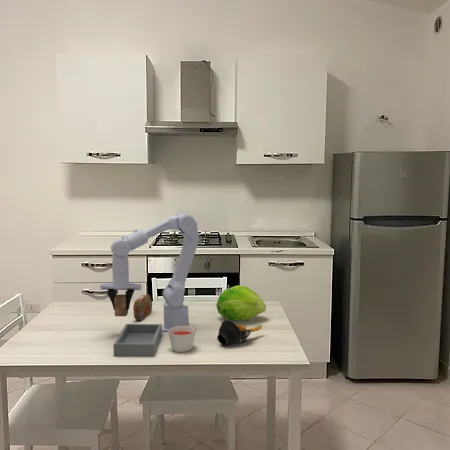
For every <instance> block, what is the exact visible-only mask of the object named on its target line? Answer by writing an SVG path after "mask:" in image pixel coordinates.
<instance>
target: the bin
mask: <svg viewBox="0 0 450 450" xmlns="http://www.w3.org/2000/svg"><path fill="white" fill-rule="evenodd" d="M162 328H163V324H162V323H156V324H155V323H126V324H125V325H124V327H123V329H122V330H121V331H120V334H119V335H118V336H117V338H116V339H115V341H114V342H113V357H155V355H156V352H157V349H158V347H159V344H160V342H161V338H162V336H163V331H162Z"/></svg>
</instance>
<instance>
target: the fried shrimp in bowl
mask: <svg viewBox="0 0 450 450" xmlns="http://www.w3.org/2000/svg"><path fill="white" fill-rule="evenodd" d="M247 326H248V325H244V326H243V325H239V324H236V323H235V322H234V321H232V320H228V319H225V320H224V319H223V321H222V322H221V323H220V327H219V328H218V333H217V337H216V339H217V341H218V342H219V344H221V345H222V346H226V345H233V344H235V343H240V344H241V343H245V342H246V341H248V340H249V339H248V338H249V337H250V335H251V333H253V332H256V331H257V332H258V331H259V330H261V329H262V328H263V326H262V325H260V324H259V325H257V326H254V327H251V328H247Z"/></svg>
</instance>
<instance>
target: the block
mask: <svg viewBox="0 0 450 450" xmlns="http://www.w3.org/2000/svg"><path fill="white" fill-rule="evenodd" d="M114 304H115V310H114V317H127V315H128V314H129V310H126V294H121V293H120V294H117V295H116V296H115V297H114Z"/></svg>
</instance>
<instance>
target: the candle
mask: <svg viewBox="0 0 450 450" xmlns="http://www.w3.org/2000/svg"><path fill="white" fill-rule="evenodd" d="M195 335H196V329H195V328H194V327H192V326H189V325H188V326H177V327H173V328H171V329H169V331H168V336H169V340H170V346H171V350H172V351H173V352H177V353H178V352H179V353H185V352H190V351H191V350H192V349H193V346H194V340H195Z"/></svg>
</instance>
